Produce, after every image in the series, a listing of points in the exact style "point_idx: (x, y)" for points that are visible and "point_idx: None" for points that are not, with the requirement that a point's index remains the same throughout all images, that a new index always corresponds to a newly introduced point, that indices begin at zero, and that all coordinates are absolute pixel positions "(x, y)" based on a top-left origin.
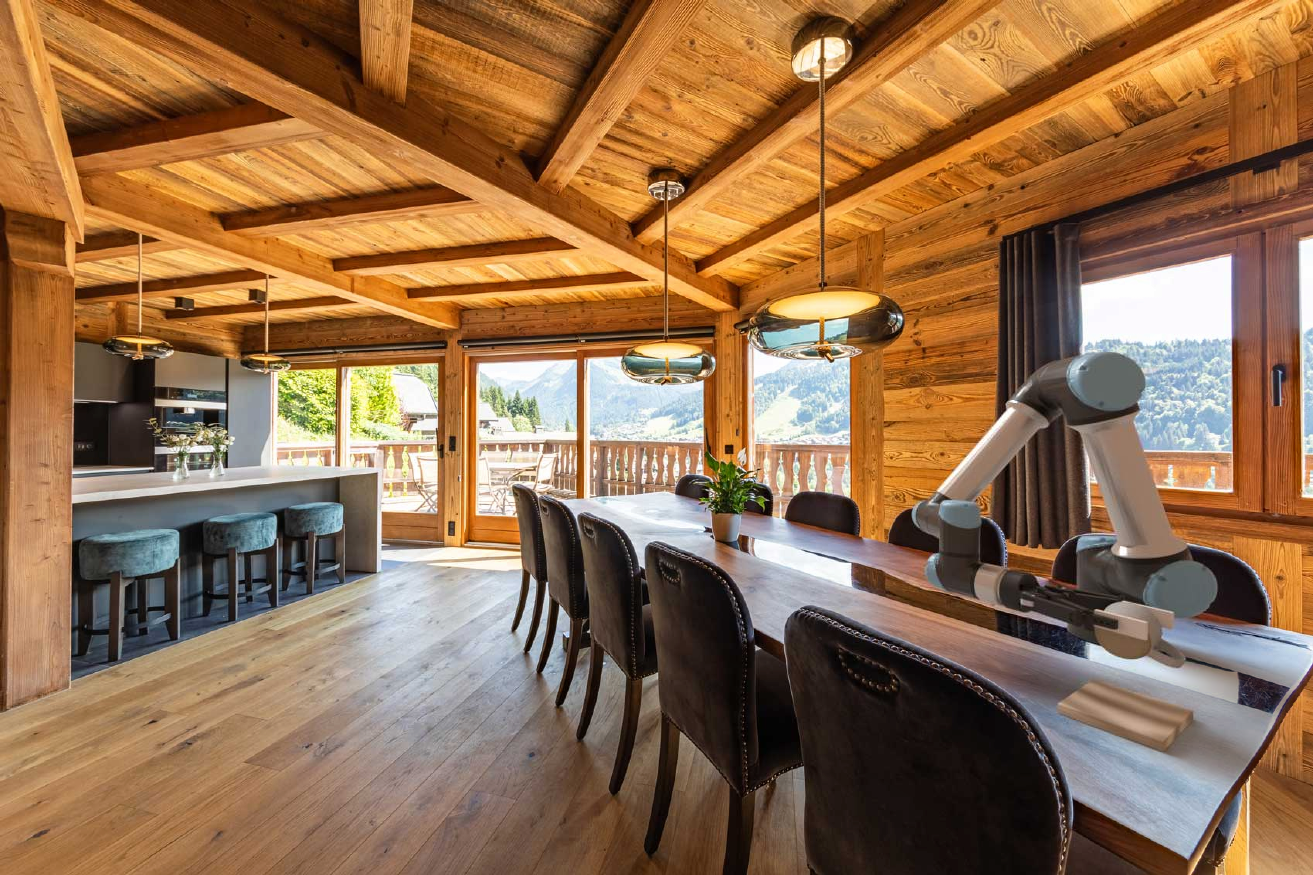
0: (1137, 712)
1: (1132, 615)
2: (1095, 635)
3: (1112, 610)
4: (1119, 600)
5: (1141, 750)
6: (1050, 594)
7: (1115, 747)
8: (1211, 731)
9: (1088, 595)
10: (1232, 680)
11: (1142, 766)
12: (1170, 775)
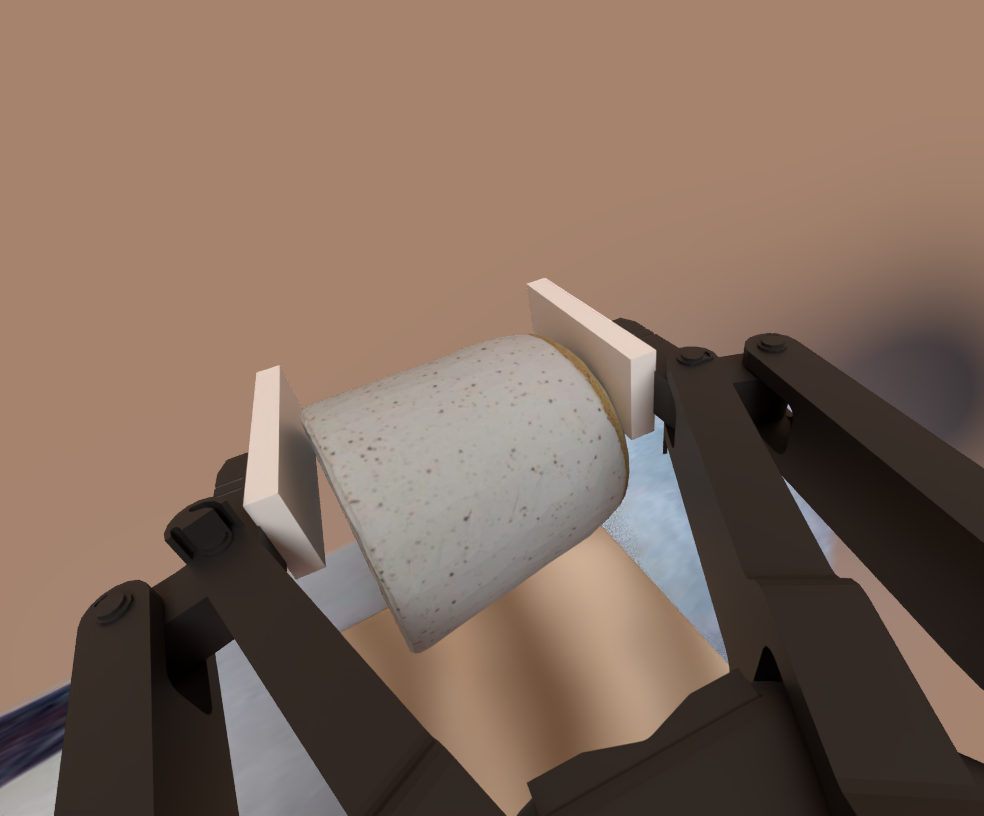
0: (512, 632)
1: (492, 340)
2: (621, 499)
3: (508, 395)
4: (235, 535)
5: (629, 527)
6: (880, 627)
7: (686, 537)
8: (373, 594)
9: (318, 684)
10: None
11: (675, 482)
12: (640, 463)
